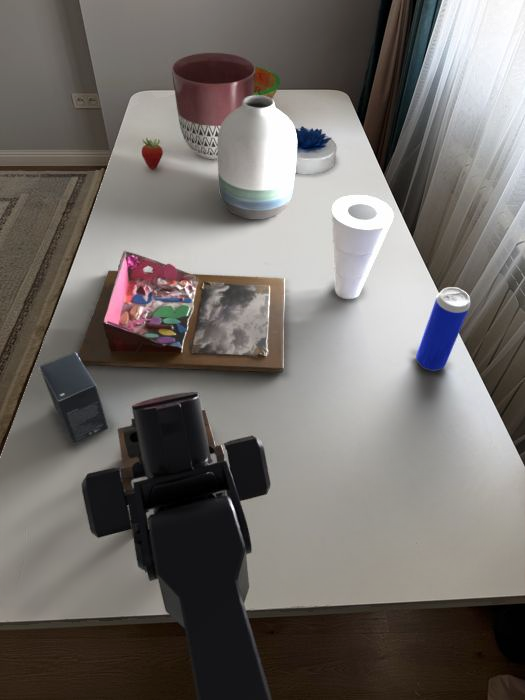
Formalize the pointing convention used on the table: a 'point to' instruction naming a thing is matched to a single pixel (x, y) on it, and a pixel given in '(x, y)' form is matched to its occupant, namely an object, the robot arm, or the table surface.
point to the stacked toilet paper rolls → (357, 240)
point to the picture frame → (185, 320)
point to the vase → (256, 159)
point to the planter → (209, 95)
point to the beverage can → (443, 328)
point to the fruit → (152, 153)
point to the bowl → (265, 82)
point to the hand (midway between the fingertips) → (173, 466)
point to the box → (74, 397)
